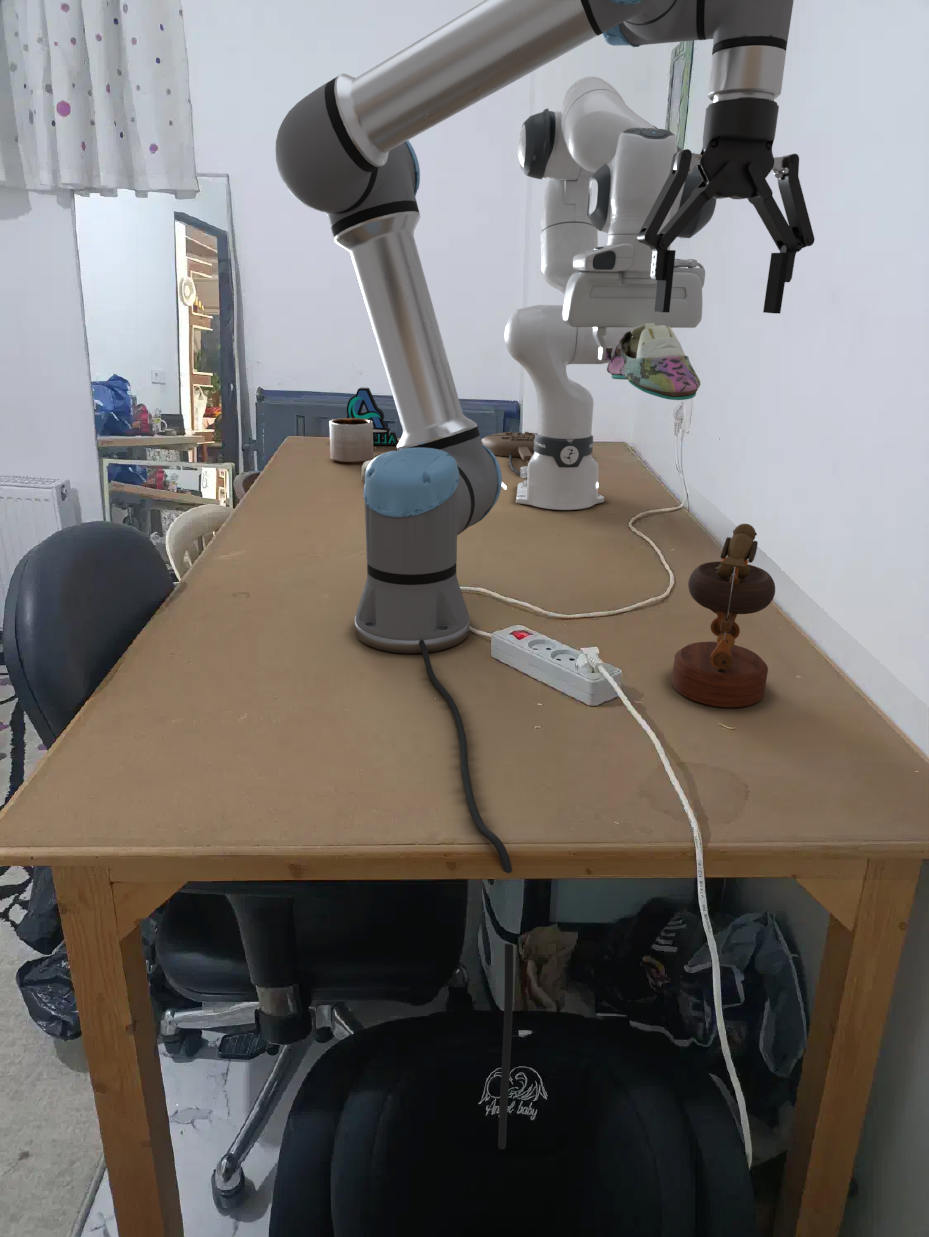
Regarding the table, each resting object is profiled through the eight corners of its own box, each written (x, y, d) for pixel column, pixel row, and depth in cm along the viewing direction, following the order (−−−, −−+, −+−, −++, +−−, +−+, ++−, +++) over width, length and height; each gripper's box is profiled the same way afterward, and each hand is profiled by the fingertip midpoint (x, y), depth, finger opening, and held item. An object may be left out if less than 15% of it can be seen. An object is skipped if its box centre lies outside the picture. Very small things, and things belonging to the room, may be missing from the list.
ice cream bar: (485, 466, 209) (486, 449, 208) (478, 444, 235) (479, 429, 234) (570, 466, 210) (571, 449, 209) (554, 445, 236) (554, 430, 235)
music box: (782, 717, 92) (796, 541, 85) (678, 718, 94) (683, 545, 86) (753, 658, 106) (763, 503, 99) (664, 660, 108) (667, 506, 100)
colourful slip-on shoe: (646, 402, 106) (653, 329, 103) (594, 378, 128) (598, 318, 125) (710, 402, 107) (718, 330, 104) (647, 378, 129) (653, 318, 126)
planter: (327, 456, 217) (325, 418, 214) (369, 454, 220) (368, 417, 217) (334, 465, 208) (332, 425, 204) (377, 463, 211) (376, 424, 207)
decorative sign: (398, 443, 235) (398, 388, 229) (397, 445, 232) (396, 389, 227) (331, 441, 236) (328, 386, 230) (329, 443, 233) (326, 387, 228)
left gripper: (830, 113, 96) (799, 312, 104) (619, 102, 92) (604, 310, 100) (870, 101, 89) (833, 315, 97) (644, 89, 85) (625, 313, 93)
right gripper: (697, 259, 124) (686, 357, 129) (562, 257, 121) (556, 357, 126) (716, 259, 118) (703, 362, 123) (574, 256, 115) (568, 362, 120)
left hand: (717, 313), depth 98 cm, fingers open, 13 cm apart
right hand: (628, 360), depth 125 cm, fingers closed on colourful slip-on shoe, 6 cm apart
